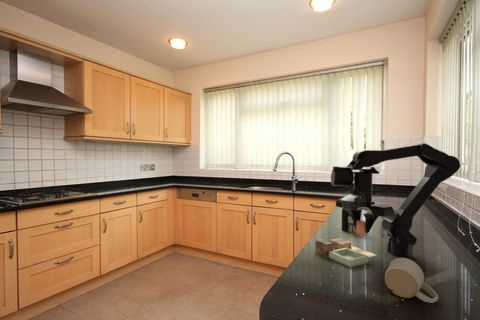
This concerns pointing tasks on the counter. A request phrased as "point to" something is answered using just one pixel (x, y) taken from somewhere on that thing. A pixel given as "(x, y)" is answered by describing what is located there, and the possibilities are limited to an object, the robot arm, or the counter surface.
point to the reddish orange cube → (361, 228)
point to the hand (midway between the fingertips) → (362, 231)
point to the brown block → (323, 247)
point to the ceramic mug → (408, 280)
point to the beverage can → (347, 222)
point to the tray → (348, 257)
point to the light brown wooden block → (340, 244)
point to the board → (361, 252)
